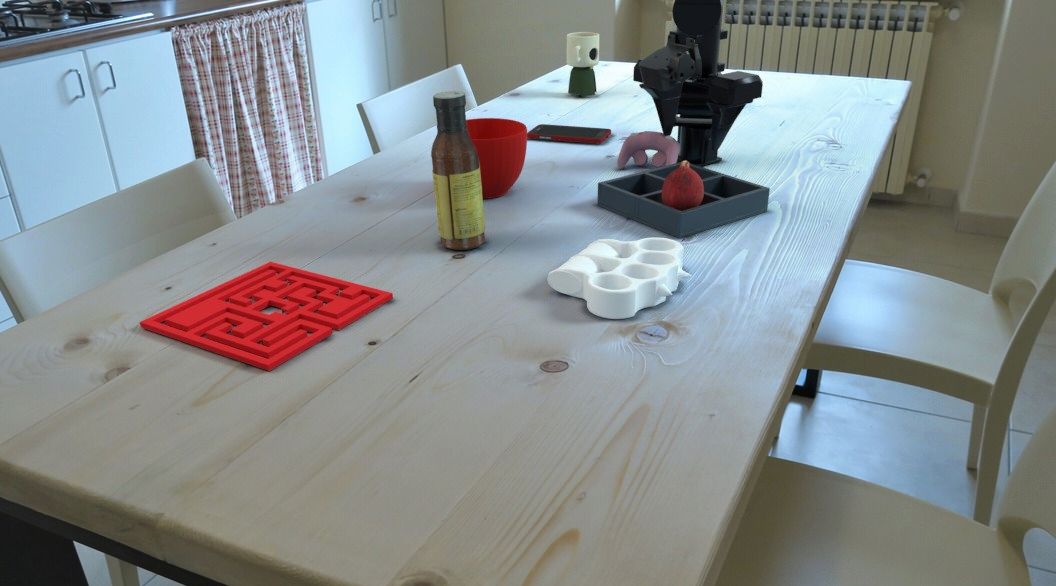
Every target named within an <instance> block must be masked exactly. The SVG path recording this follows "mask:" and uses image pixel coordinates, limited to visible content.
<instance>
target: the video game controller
mask: <svg viewBox="0 0 1056 586" xmlns="http://www.w3.org/2000/svg"><path fill="white" fill-rule="evenodd" d="M646 151H656V152H655V153H653V155H652V157H651V164H652V165H653V166H654V167H655V168H659V167H663V166H667V165H671V164H675V163H678V162H677V158H678V154H679V152H680V144H679V143H678V142H677V139H676V138H674V137H673V135H672V136H671V135H669V136H664V134H663V132H661V131H651V130H645V131H639V132H632V133H630V134H629V135H628V136H627V137H626V138H625V139H624V141H623V143H622V146H621V148H620V150H619V154H618V156H617V162H616V165H617V168H618V170H622V169H624V168H625V167H626V165H627V164H628V162H629V160H630V159H631V158H632V159H633V162H634V164H635V165H636V166H639V167H644V166H645V165H646V164H647V163H648V162H649V156H648V153H647V152H646Z"/></svg>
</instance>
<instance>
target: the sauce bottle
mask: <svg viewBox="0 0 1056 586" xmlns="http://www.w3.org/2000/svg"><path fill="white" fill-rule="evenodd" d="M466 99H467V98H466V94H465V92H463V91H459V90H458V91H457V90H450V91H449V90H448V91H441V92H437V93H434V95H433V97H432V102H433V107H434V109H435V115H436V131H437V132H436V135H435V137H434V140H433V142H432V145H431V151H430V157H431V164H432V171H431V173H432V180H433V190H434V199H435V208H436V218H437V227H438V235H439V236H440V242H441V245H442V247H443V248H445V249H450V250H454V251H467V250H468V251H470V250H473V249H476V248H479V247H480V246H482V245H483V244H484V243H485V241H486V236H485V235H486V234H485V230H486V222H485V210H484V200H483V199H484V198H483V197H482V185H481V174H480V163H479V158H478V154H477V151H476V148H475V146H474V144H473V143H472V140H471V138H470V135H469V132H468V129H467V123H466V120H467V115H466V105H467V100H466Z"/></svg>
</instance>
